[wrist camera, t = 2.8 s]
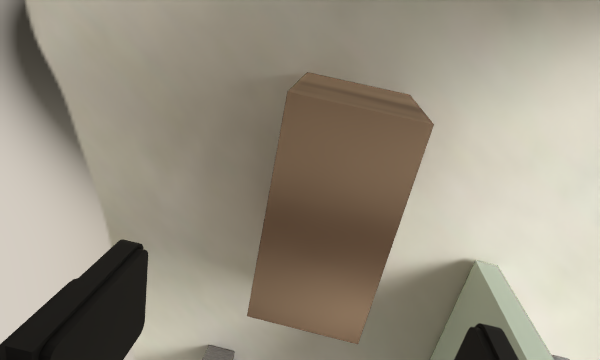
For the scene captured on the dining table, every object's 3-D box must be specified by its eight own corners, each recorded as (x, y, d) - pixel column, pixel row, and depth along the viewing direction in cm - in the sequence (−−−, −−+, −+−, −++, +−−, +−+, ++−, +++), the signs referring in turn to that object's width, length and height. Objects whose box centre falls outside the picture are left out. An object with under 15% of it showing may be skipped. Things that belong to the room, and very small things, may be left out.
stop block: (307, 71, 18) (287, 91, 13) (409, 94, 18) (433, 124, 13) (273, 244, 22) (247, 316, 17) (356, 264, 22) (357, 344, 16)
